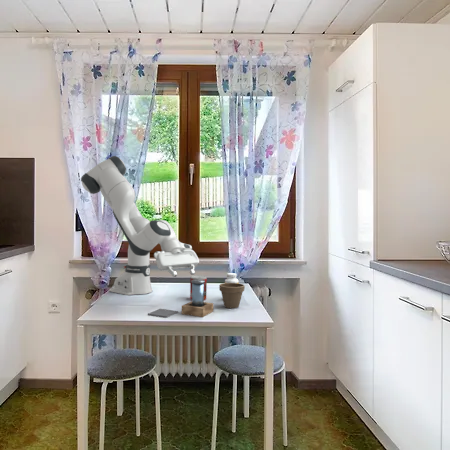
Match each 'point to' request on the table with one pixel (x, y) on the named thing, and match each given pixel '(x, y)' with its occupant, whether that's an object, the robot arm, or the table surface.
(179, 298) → the table surface
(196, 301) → the plunger
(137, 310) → the table surface
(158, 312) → the mat
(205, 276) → the canned food
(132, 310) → the table surface
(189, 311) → the bore block
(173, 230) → the robot arm
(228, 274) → the supplement bottle
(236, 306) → the flower pot
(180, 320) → the table surface
